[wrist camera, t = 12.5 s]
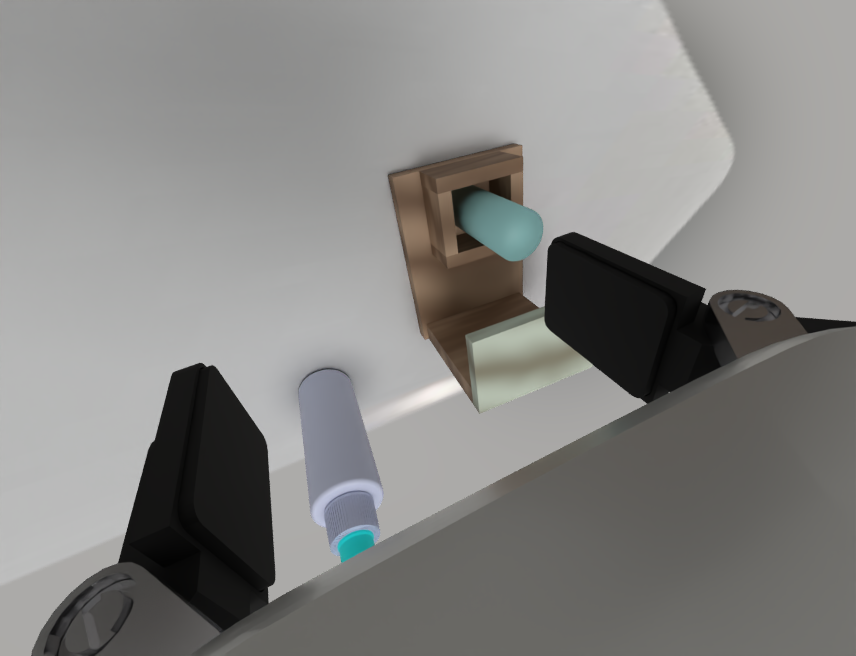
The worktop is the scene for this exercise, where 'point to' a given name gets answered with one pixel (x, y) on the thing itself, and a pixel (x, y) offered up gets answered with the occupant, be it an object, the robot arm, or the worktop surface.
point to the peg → (497, 222)
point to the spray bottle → (339, 464)
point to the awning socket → (475, 284)
